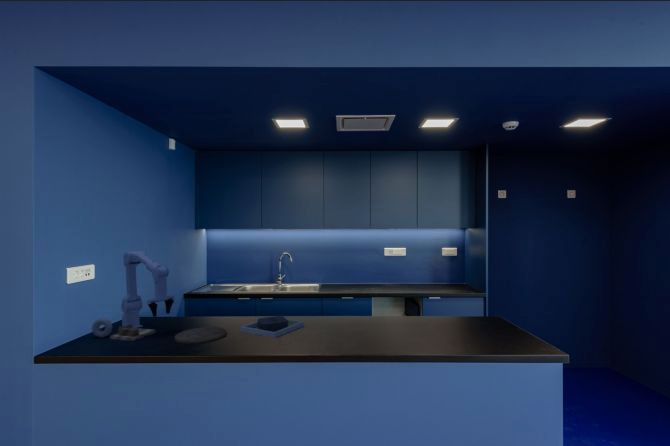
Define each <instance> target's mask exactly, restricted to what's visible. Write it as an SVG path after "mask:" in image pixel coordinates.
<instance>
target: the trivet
mask: <svg viewBox="0 0 670 446" xmlns="http://www.w3.org/2000/svg"><path fill="white" fill-rule="evenodd" d="M226 336H227V329H225V328H223V327H219V326H204V327H202V326H201V327H194V328H189V329H185V330H183V331H180V332H178V333H177V334H176V333H175V336H174V341H175V342H176V343H177V344H178V343H179V344H182V345H199V344H200V345H201V344H206V343H207V344H208V343H212V342H215V341H218V340H221V339H223V338H225V337H226Z"/></svg>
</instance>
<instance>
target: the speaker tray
mask: <svg viewBox="0 0 670 446" xmlns="http://www.w3.org/2000/svg"><path fill="white" fill-rule="evenodd" d="M286 319H287V318H286ZM287 320H288V327H287V328H284V329H281V330H279V331H276V332H271V331H265V330H259V329H258V320H257V321H255V322H251V323H248V324H245V325H243V326H240V332H241V333H246V334H250V335H251V334H252V335H258V336H261V337H262V336H263V337H268V338H274V339H275V338H279V337H281V336H283V335H286V334H288V333H290V332H292V331H295V330H297V329H300V328H304V325H305V324H304V323H305V322H304V321H300V320H294V319H287Z"/></svg>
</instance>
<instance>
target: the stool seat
mask: <svg viewBox="0 0 670 446" xmlns="http://www.w3.org/2000/svg"><path fill="white" fill-rule="evenodd" d="M123 328H132V324H128V325H125V326H123ZM135 329H139V335H137V336H125V335H118V332H117V333H115V334H112V335H109V339H110V340H118V341H131V342H133V341H136V339H137V340H139V339H142V338H144V336H145V337H147V335H148V336H151V335H153V334H155V333H156V332H157V331H156V329H150V328H149V329H148V328H140V327H138V328H135Z"/></svg>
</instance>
